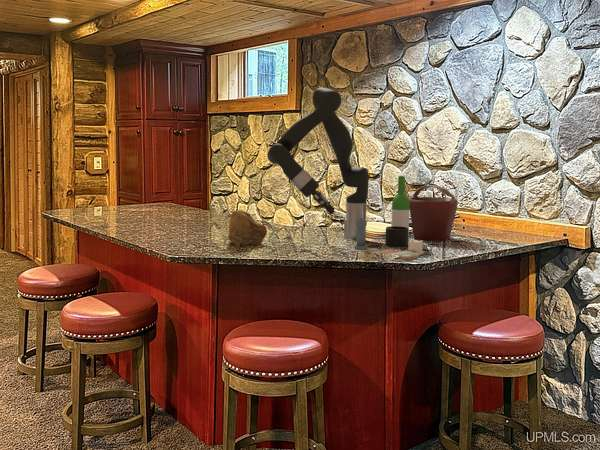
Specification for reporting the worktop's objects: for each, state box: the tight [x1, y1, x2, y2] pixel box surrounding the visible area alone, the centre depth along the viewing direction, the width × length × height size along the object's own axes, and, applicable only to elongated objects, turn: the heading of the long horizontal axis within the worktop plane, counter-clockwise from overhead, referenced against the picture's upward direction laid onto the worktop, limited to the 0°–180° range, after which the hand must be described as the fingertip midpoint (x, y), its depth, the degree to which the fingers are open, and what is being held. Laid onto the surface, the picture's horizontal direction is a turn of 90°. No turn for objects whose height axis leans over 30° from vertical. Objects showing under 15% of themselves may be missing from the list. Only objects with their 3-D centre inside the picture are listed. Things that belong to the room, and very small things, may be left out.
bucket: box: [408, 184, 458, 242], centre depth 306 cm, size 24×22×25 cm
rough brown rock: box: [227, 209, 268, 247], centre depth 285 cm, size 23×17×15 cm
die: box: [407, 239, 424, 256], centre depth 267 cm, size 5×5×5 cm
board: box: [349, 247, 420, 262], centre depth 262 cm, size 27×11×2 cm, turn 57°
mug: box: [384, 225, 409, 248], centre depth 278 cm, size 9×12×9 cm
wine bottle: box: [390, 175, 410, 242], centre depth 289 cm, size 8×8×30 cm
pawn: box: [353, 218, 368, 251], centre depth 267 cm, size 5×5×13 cm
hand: (333, 211), depth 266 cm, fingers open, 8 cm apart
